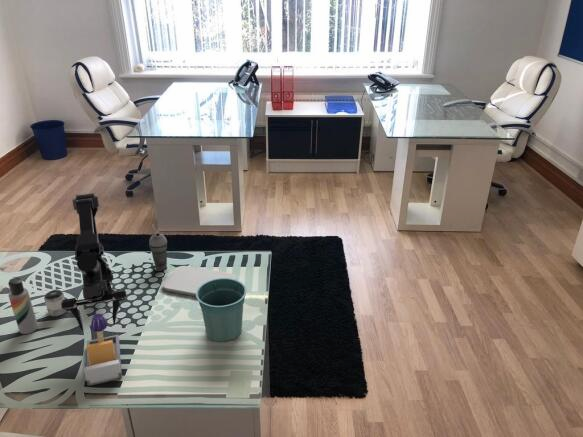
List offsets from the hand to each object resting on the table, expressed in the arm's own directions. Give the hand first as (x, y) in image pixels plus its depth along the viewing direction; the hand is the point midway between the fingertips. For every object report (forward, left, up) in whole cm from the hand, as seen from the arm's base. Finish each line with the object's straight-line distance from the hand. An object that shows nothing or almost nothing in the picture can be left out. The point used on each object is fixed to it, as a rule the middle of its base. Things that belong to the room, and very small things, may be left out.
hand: (98, 327), depth 148 cm
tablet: (+10, +44, -11) cm, 47 cm away
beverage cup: (-11, +50, -11) cm, 52 cm away
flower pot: (+31, +24, -11) cm, 40 cm away
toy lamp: (+2, -3, -10) cm, 10 cm away
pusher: (+4, -5, -10) cm, 12 cm away
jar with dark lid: (-29, +12, -11) cm, 33 cm away
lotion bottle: (-31, +1, -11) cm, 33 cm away
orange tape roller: (+3, -3, -10) cm, 11 cm away
